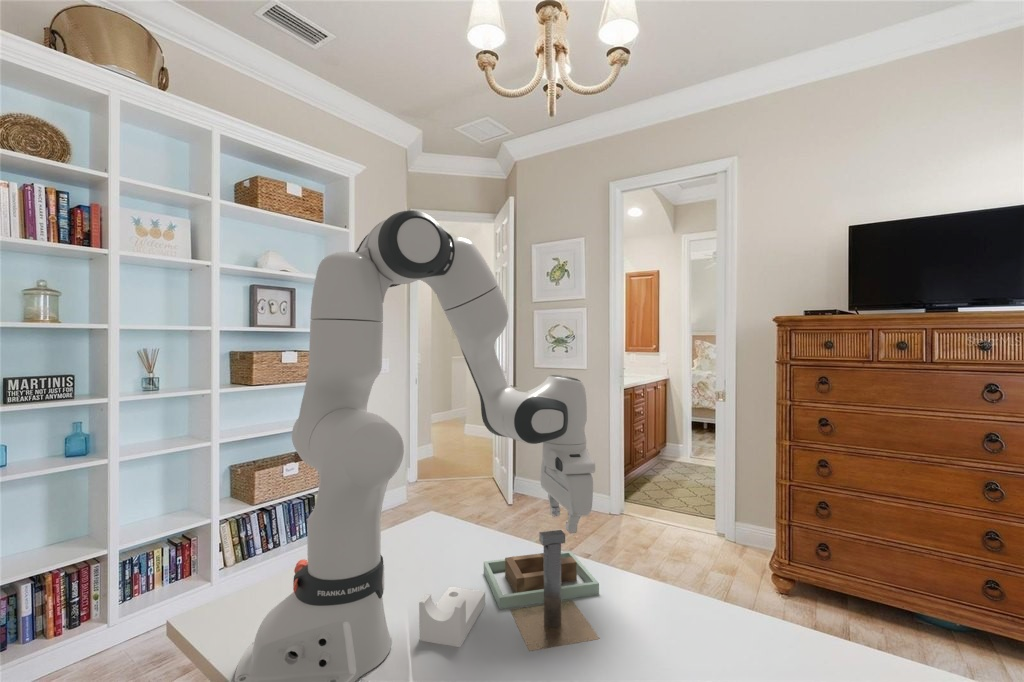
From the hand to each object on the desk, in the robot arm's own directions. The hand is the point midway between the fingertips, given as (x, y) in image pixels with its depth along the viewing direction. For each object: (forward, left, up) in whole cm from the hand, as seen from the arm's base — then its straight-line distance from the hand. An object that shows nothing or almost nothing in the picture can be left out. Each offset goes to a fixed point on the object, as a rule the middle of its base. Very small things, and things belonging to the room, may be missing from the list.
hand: (562, 523), depth 98 cm
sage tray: (-5, 0, -12) cm, 13 cm away
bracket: (-23, -8, -13) cm, 28 cm away
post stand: (-7, -14, -12) cm, 20 cm away
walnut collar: (-4, 0, -12) cm, 13 cm away
